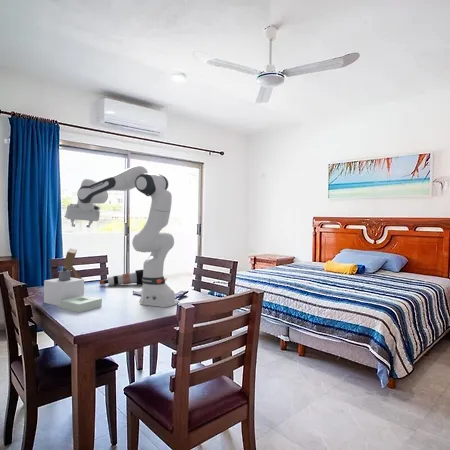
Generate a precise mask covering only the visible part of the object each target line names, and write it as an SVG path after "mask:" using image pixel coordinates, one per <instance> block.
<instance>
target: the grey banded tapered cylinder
mask: <svg viewBox="0 0 450 450" xmlns="http://www.w3.org/2000/svg"><path fill="white" fill-rule="evenodd" d="M142 276H143V269H137V270H135V272H130V273H123V274H119V275H113V276H107V279H106V280H105V279H104V280H99V285H106V284H108V285H107V286H108V287H111V286H121V285H125V286H126V285H131V284H136V285H137V286H139V285H143V283H142Z"/></svg>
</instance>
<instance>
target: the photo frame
mask: <svg viewBox="0 0 450 450" xmlns="http://www.w3.org/2000/svg"><path fill="white" fill-rule="evenodd" d="M77 251H78V249H76V248H71V247H69V248H68V250H67V252H66V254H65V259H64V262H63V266H62V269H61V271H62V270H63V267H67V270H69V271H70V274H73V276H74V277H73V278H78V279H83V277H81V275H80V274H79V273H78V271H77V270H76V268H74V266H73V265H74V262H75V258H76V254H77Z"/></svg>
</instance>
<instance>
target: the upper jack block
mask: <svg viewBox="0 0 450 450" xmlns="http://www.w3.org/2000/svg"><path fill="white" fill-rule="evenodd" d="M43 288H44V289H43V303H44V304H47V305H51V306H57V307H60V300H64V299H68V298H73V297H77V296H81V295H85V279H84V278H82V279H78V278H75V277H71V276H70V280H68V281H59V277H58V278H51V279H45V280H44V281H43Z"/></svg>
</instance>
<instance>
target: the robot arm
mask: <svg viewBox="0 0 450 450" xmlns="http://www.w3.org/2000/svg"><path fill="white" fill-rule="evenodd" d="M135 188H136V190H137V191H138V192H140V193H142V194H143V195H145V196H146V197H151V204H150V207H149V208H150V209H149V213H148V217H147V220H146V223H145V225H144V226H143V227H142V229H141V230H140V231H139V232H138V233H137V234H134V236H133V239H132V240H131V241H132V246H133V249H134V250H135V251H136V252H139V253H140V252H141V253H150V255H149V257H148V258H147V259H145V260H144V261H143V267H142V268H143V269H142V270H143V276H142V283H143V284H142V287H141V288H142V289H141V293H140V298H139V305H142V306H152V307H161V308H167V307H173V306H175V305H176V306H177V303H178V304H179V303H180V300H178V299H176V295H175V294H176V293H175V292H174V290H173V289H172V288H171V287H170V286H169V285H168V284H167V283H166V281H167V280H168V277H167V278H165V276H164V265H165V260H166V257H167V255H168V253H169V252H170V251H171V250H172V249H173V247H174V245H175V239H174V236H173V235H172V234H171V233H169V232H166V231H165V232H164V231H163V232H161V231H162V230H163V229H164V228H165V227H167V225H168V223H169V219H170V214H171V210H172V202H173V201H172V199H173V198H172V197H173V196H172V193H171V191H169V190H168V188H169V180H168V178H167V177H166V176H164V175H162V174H156V173H149V172H148V169H147V168H146V167H145V166H144V165H141V164H140V165H135V166H131V167H129V168H127V169H124V170H123V171H121V172H118V173H117V174H114V175H111V176H110V177H107V178H104V179H102V180H100V181H96V180H94V179H89V178H88V179H87V178H85V179H83V180H82V182H81V184H80V187H79V188H78V191H77V192H76V193H77V195H76V196H77V203H69V204H67V206H66V211H65V215H64V217H65V219H67V220H70V223H71V227H76V223H75V220H76V221H86V222H87V221H88V223H87V224H86V226H85V227H86V228H91V225H92V224H93V222H99V219H100V213H101V212H100V210H101V207H100V206H98V205H96V204H105V203H106V202H107V200H108V198H109V194H108V193H109V191H116V192H118V191H120V192H125V191H131V190H133V189H135Z"/></svg>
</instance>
